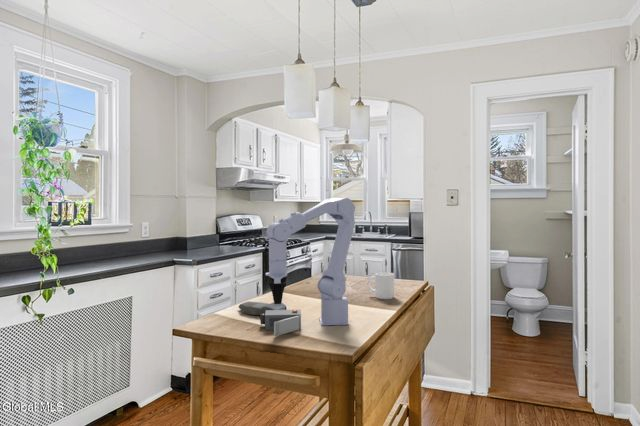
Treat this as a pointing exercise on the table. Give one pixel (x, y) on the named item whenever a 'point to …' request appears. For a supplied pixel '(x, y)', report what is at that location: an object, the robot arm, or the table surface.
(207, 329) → the table surface
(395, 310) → the table surface
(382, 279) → the mug
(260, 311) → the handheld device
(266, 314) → the camera body
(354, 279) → the table surface
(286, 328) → the side door
